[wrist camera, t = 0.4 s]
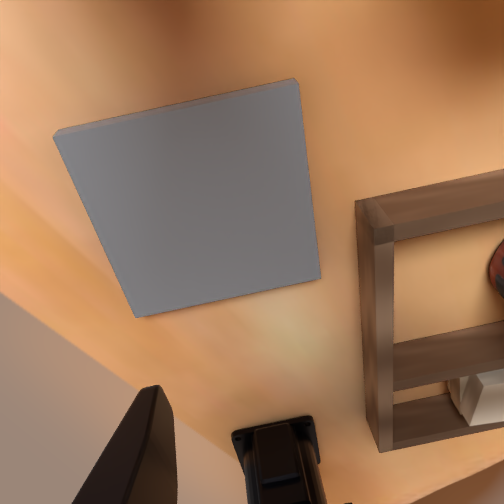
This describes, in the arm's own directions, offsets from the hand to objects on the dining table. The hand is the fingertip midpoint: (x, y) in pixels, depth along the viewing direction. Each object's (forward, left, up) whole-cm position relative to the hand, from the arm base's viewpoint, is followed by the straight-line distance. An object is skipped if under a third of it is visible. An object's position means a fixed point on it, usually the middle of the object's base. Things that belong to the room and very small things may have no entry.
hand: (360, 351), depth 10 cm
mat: (-3, +4, -14) cm, 15 cm away
